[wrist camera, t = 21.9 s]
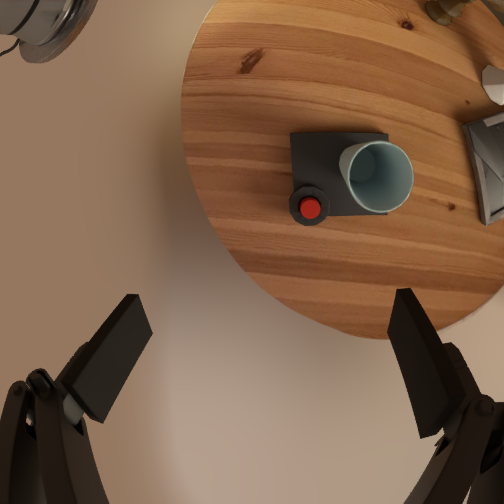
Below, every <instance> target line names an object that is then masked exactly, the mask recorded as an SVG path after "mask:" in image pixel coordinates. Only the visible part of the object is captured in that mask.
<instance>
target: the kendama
mask: <svg viewBox="0 0 504 504" xmlns="http://www.w3.org/2000/svg"><path fill="white" fill-rule="evenodd" d="M474 1H476V0H437V1H434V0H430V1H427V2H426V3H425V8H426V11H427V13H428V14H429V16H430V17H431V18H432V19H433V20H434V21H435V22H437V23H438V24H440V25H449V24H450V23H451V22H452V18H453V17H455V18H456V17H460V16H461V15H462V11H461V9H462V8H463V7H464V6H465V5H466V4H468V3H472V2H474ZM486 1H487V2H488V3H489V4H490V5H491V6H492V7H493V8H494V9H495V10H497V11H500V12H504V0H486Z"/></svg>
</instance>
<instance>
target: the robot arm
mask: <svg viewBox="0 0 504 504" xmlns="http://www.w3.org/2000/svg"><path fill="white" fill-rule="evenodd" d="M75 4H76V0H0V34H6V35H14V36H16V37H17V38H18V39H17V40H16V42H15V44H14V45H13V46H12V47H11V48H10V49H8V50H6V51H3V52H1V53H0V56H2V55H4V54H6V53H8V52H10V51H12V50H13V49H14V48H15V47H16V46H17V45H18V43H19V41H20V40H23V41H24V42H25V43H26V44H28V45H32V46H40V45H43V44H45V43H46V42H48V41H49V40H50V39H52V38H53V37H54V36H55V35H56V34H57V33H58V32H59V30H60V29H61V28H62V27H63V25H64V24H65V23H66V21H67V20H68V18H69V16H70V15H71V13H72V11H73V9H74V6H75ZM387 333H388V336H389V339H390V341H391V344H392V347H393V349H394V352H395V355H396V358H397V361H398V364H399V367H400V370H401V373H402V376H403V379H404V382H405V385H406V388H407V392H408V395H409V398H410V402H411V405H412V409H413V412H414V416H415V420H416V423H417V427H418V431H419V435H420V439H422V438H425V437H429V436H432V435H436V434H437V433H438V432H439V431H440V430H441V428H442V427H443V430H444V433H445V434H444V435H443V436H442V437H441V438H440V439H439V440H438V441H437V443H436V444H435V446H437V445H438V446H437V448H436V450H435V452H434V454H433V456H432V458H431V460H430V462H429V464H428V465H427V467H426V469H425V471H424V472H423V474H422V476H421V478H420V479H419V481H418V482H417V484H416V486H415V487H414V489H413V491H412V492H411V493H410V495H409V496H408V498H407V499H406V501H405V502H404V504H462V503H463V501H464V499H465V497H466V495H467V493H468V491H469V489H470V487H471V489H470V493H469V497H468V500H467V504H504V402H494V400H493V399H492V398H491V397H489V396H488V395H484V394H481V392H480V390H479V388H478V386H477V384H476V382H475V380H474V378H473V376H472V373H471V371H470V370H469V368H468V367H467V364H466V362H465V360H464V358H463V356H462V354H461V352H460V351H459V349H458V348H457V347H456V346H455V345H454V344H452V343H451V342H450V343H445V344H443V343H442V342H441V340H440V338H439V336H438V334H437V332H436V330H435V329H434V327H433V325H432V323H431V322H430V320H429V318H428V316H427V315H426V313H425V311H424V309H423V308H422V306H421V304H420V303H419V301H418V299H417V298H416V296H415V295H414V293H413V291H412V290H411V288H404V289H397V291H396V296H395V300H394V305H393V310H392V314H391V318H390V323H389V327H388V331H387ZM152 334H153V332H152V330H151V328H150V325H149V322H148V319H147V317H146V314H145V311H144V309H143V306H142V303H141V300H140V297H139V295H138V294H127V295H126V296H125V297H124V298H123V300H122V301H121V302H120V303H119V304H118V306H117V307H116V308H115V309H114V311H113V312H112V313H111V314H110V315H109V317H108V318H107V319H106V320H105V322H104V323H103V324H102V325H101V327H100V328H99V329H98V331H97V332H96V333H95V334H94V336H93V337H92V338H91V340H90V341H89V342H86V343H85V344H83V345H82V346H81V347H79V349H78V350H77V351H76V352H75V354H74V356H72V358H71V359H70V362H68V363H67V364H66V366H65V367H64V369H63V370H62V371H61V373H60V374H59V375H58V377H57V378H56V380H55V381H53V380H52V378H51V377H50V376H49V374H48V373H47V371H46V370H45V369H42V368H40V369H36V370H34V371H32V372H31V373H30V374H29V375H28V377H27V379H26V383H25V382H24V381H17V382H15V383H13V384H12V386H11V387H10V389H9V391H8V394H7V398H6V401H5V404H4V408H3V412H2V415H1V419H0V504H109V501H108V499H107V496H106V494H105V491H104V488H103V485H102V482H101V479H100V476H99V473H98V470H97V467H96V463H95V460H94V457H93V453H92V449H91V445H90V441H89V437H88V432H87V427H86V423H85V420H84V418H83V417H82V416H83V414H84V412H85V413H86V414H87V415H88V416H89V418H90V419H92V420H95V421H97V422H100V423H104V421H105V419H106V417H107V415H108V413H109V411H110V409H111V407H112V405H113V404H114V402H115V400H116V398H117V396H118V394H119V392H120V391H121V389H122V387H123V385H124V383H125V381H126V380H127V377H128V376H129V374H130V372H131V371H132V369H133V367H134V365H135V364H136V362H137V360H138V358H139V356H140V355H141V353H142V351H143V350H144V348H145V346H146V344H147V343H148V341H149V339H150V337H151V336H152ZM26 384H27V385H28V386H29V387H30V388H29V387H28V386H27V385H26ZM26 418H28V419H29V420H30V421H31V425H28V424H27V423H26Z"/></svg>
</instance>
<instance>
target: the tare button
mask: <svg viewBox="0 0 504 504" xmlns="http://www.w3.org/2000/svg"><path fill="white" fill-rule="evenodd" d="M300 210H301V213H302V215H303V216H304V217H306V218H308V219H312V218H315V217H317V216H318V214H319V213H320V206H319V203H318V201H317V200H316V199H315V198H313V197H306V198H304V199H303V200H302V201H301V203H300Z"/></svg>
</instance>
